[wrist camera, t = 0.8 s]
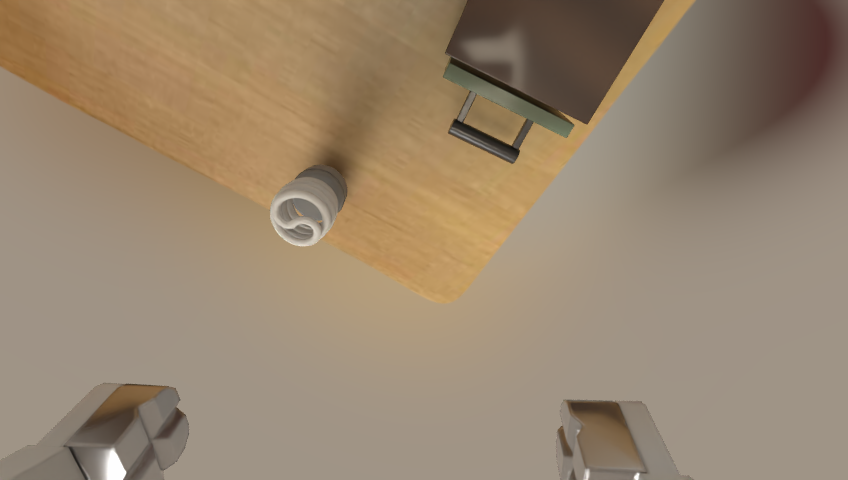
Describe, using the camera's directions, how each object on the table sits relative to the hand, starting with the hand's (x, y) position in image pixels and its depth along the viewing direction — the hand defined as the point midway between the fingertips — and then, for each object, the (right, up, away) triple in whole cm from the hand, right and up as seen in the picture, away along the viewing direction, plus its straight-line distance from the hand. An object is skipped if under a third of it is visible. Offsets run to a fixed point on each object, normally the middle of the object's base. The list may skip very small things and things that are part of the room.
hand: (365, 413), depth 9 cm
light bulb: (-9, +10, +40) cm, 42 cm away
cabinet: (+12, +26, +30) cm, 42 cm away
